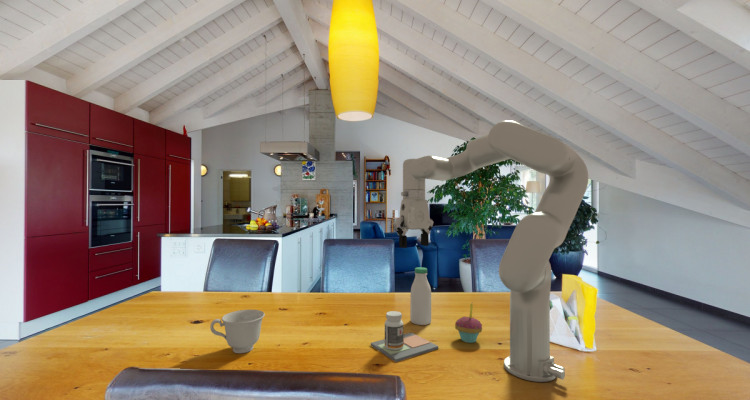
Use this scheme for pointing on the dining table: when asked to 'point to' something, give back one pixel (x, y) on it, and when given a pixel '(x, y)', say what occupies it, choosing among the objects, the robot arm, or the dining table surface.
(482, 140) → the robot arm
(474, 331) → the cupcake
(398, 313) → the pill bottle
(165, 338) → the dining table surface
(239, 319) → the teacup
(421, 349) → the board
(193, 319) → the dining table surface
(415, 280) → the milk bottle
